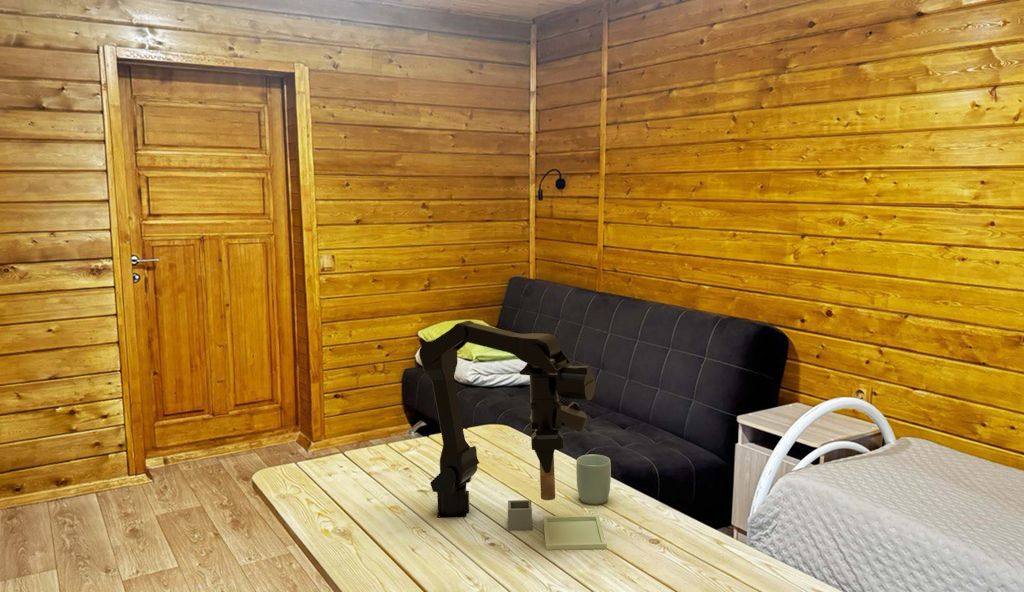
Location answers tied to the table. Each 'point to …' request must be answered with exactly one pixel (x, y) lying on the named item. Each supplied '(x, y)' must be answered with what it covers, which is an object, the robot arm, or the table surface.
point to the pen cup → (519, 515)
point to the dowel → (547, 483)
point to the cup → (593, 478)
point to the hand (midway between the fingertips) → (547, 469)
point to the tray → (573, 532)
